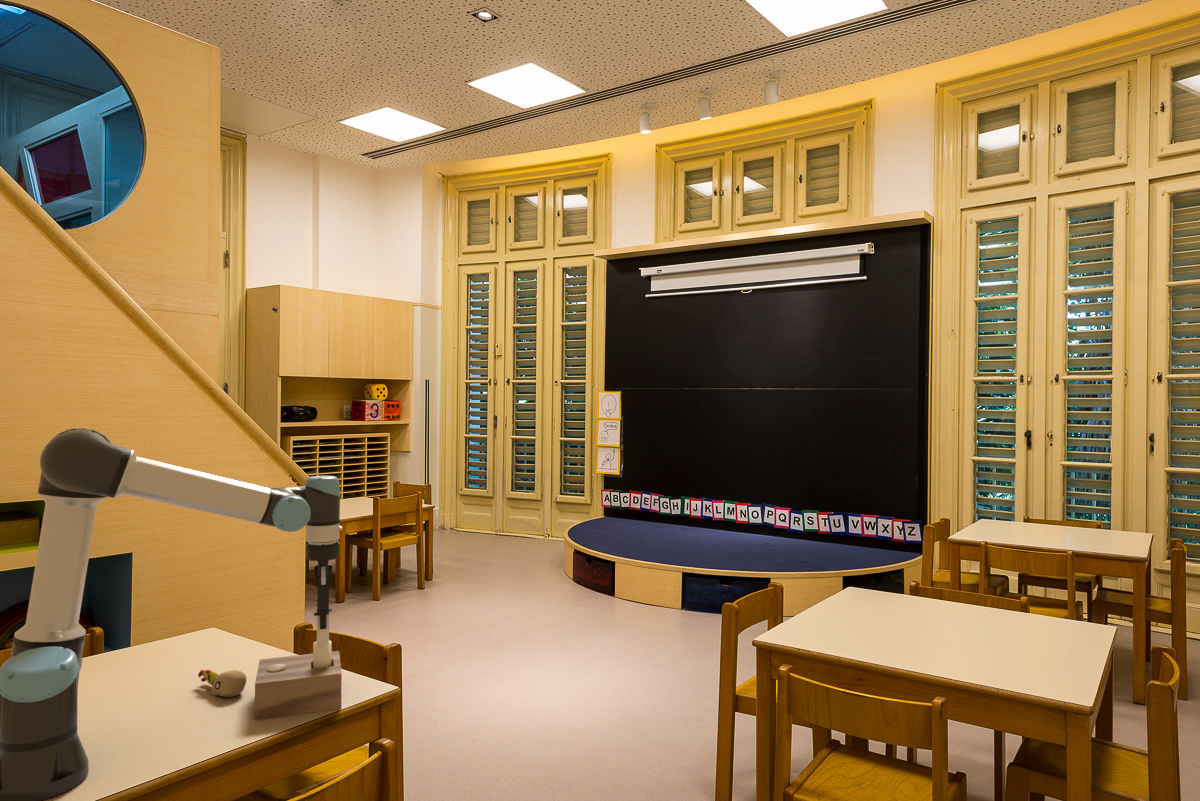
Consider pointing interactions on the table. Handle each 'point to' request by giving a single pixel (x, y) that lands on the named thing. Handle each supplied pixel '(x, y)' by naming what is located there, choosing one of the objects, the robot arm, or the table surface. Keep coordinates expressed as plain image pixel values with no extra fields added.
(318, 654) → the dowel
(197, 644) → the table surface
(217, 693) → the toy
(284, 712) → the socket block
